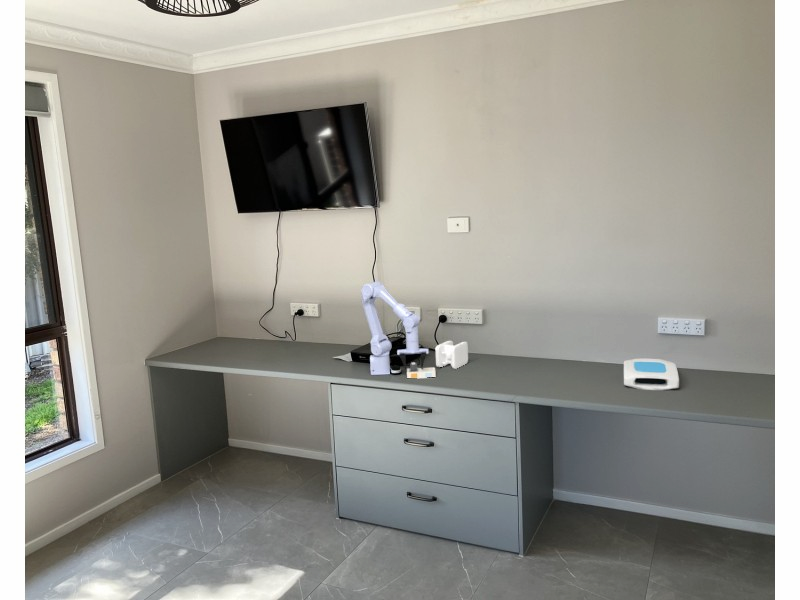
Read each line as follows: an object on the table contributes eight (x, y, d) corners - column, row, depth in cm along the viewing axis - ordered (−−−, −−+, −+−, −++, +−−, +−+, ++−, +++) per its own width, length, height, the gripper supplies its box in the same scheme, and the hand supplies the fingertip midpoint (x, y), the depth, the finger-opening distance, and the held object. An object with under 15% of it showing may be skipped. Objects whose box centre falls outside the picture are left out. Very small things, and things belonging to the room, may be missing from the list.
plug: (410, 377, 294) (410, 363, 293) (410, 375, 297) (410, 362, 296) (417, 377, 294) (416, 363, 293) (417, 375, 297) (416, 361, 296)
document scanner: (673, 372, 281) (673, 359, 280) (679, 391, 255) (679, 376, 254) (623, 370, 288) (623, 357, 287) (623, 389, 262) (624, 374, 261)
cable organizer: (454, 371, 300) (453, 347, 298) (435, 369, 306) (434, 345, 304) (468, 363, 313) (468, 340, 311) (450, 361, 318) (449, 339, 317)
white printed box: (407, 379, 292) (406, 372, 291) (407, 374, 299) (407, 368, 298) (435, 377, 291) (435, 371, 291) (435, 373, 298) (434, 367, 298)
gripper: (396, 343, 289) (398, 371, 291) (428, 341, 288) (429, 370, 290) (396, 339, 295) (398, 367, 298) (427, 338, 295) (429, 366, 297)
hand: (413, 368), depth 294 cm, fingers open, 7 cm apart
